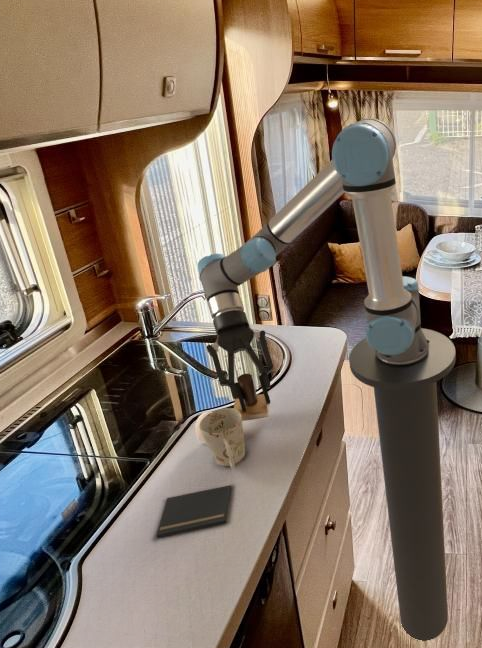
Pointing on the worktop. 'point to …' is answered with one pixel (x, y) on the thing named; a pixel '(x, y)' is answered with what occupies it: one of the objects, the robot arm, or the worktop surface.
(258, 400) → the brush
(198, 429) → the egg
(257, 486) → the worktop surface
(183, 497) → the counter mat
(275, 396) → the worktop surface
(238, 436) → the mug
